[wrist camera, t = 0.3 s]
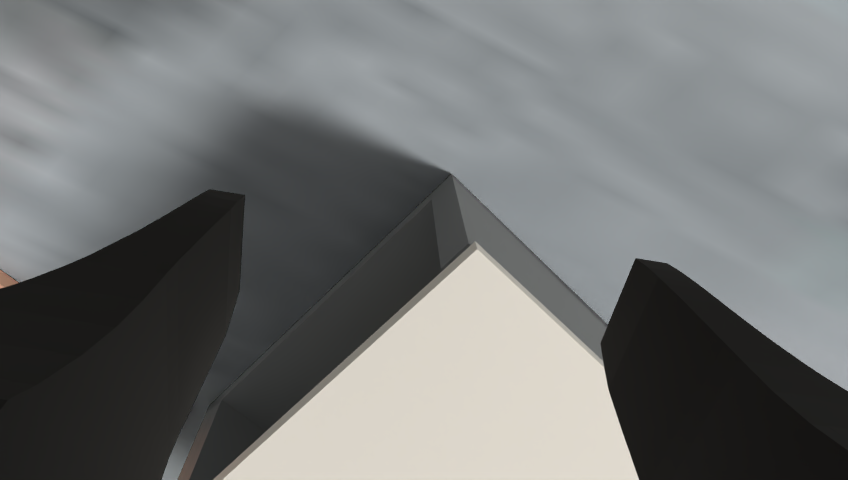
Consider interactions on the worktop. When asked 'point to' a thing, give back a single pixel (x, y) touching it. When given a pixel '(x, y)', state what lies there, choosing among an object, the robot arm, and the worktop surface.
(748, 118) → the worktop surface
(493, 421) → the cover
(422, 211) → the case
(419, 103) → the worktop surface
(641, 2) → the worktop surface
